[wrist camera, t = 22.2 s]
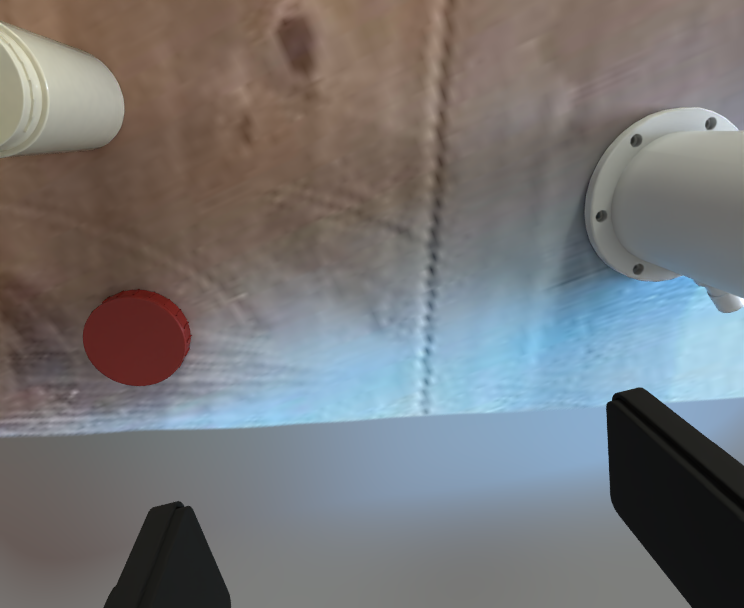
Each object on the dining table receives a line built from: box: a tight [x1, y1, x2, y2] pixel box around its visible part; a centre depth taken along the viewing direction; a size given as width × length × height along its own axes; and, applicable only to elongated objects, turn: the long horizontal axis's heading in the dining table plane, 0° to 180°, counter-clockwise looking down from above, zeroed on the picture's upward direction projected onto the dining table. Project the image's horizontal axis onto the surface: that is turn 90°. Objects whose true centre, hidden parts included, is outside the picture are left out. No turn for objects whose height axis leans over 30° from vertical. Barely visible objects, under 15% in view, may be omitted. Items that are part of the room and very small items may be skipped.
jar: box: [0, 21, 124, 158], centre depth 25 cm, size 6×6×11 cm
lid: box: [83, 289, 192, 386], centre depth 35 cm, size 7×7×2 cm
